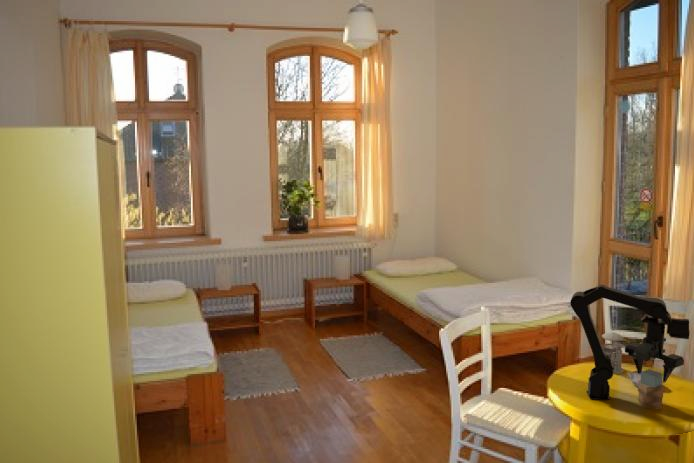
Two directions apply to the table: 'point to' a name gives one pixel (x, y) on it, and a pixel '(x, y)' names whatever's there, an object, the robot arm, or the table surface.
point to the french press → (614, 348)
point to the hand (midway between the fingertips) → (651, 377)
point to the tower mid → (650, 390)
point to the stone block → (636, 378)
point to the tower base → (650, 402)
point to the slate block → (651, 378)
